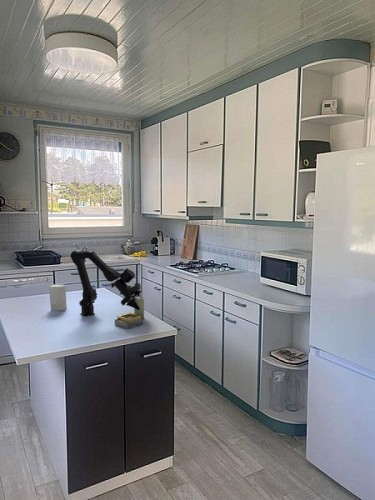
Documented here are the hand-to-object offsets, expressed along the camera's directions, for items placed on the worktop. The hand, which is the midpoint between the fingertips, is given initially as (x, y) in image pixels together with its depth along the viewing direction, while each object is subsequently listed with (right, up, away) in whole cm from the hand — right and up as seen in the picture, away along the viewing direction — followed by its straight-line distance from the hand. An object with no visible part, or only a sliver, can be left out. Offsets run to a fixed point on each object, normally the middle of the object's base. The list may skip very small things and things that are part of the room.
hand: (141, 308), depth 223 cm
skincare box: (-55, -4, +21) cm, 59 cm away
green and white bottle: (-1, -7, +1) cm, 7 cm away
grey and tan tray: (-6, -8, -10) cm, 14 cm away
